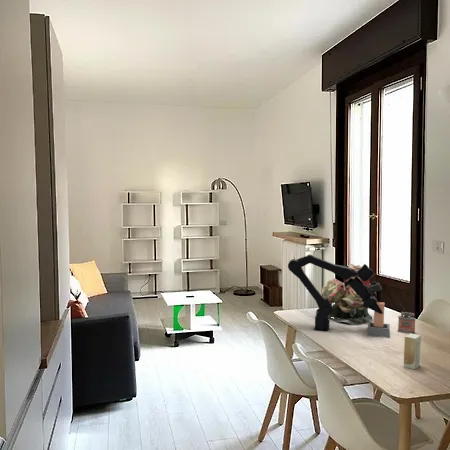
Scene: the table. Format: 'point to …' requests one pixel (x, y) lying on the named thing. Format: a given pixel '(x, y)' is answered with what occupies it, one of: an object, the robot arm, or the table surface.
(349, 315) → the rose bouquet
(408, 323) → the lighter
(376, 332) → the well
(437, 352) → the table surface
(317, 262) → the robot arm
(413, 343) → the skincare box
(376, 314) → the terracotta block
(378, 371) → the table surface
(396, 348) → the table surface
